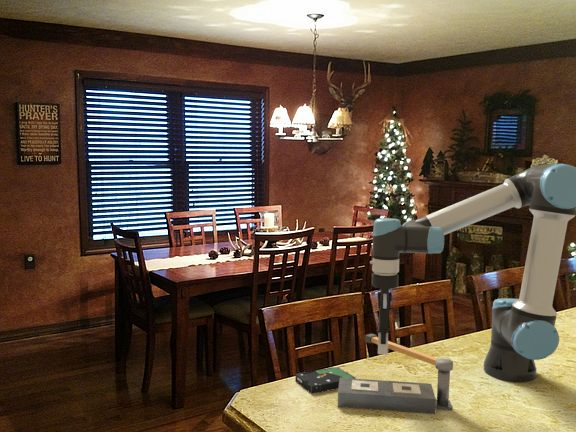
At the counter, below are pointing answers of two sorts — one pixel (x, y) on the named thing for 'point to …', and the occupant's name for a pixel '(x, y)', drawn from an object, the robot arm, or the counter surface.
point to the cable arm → (414, 354)
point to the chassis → (386, 395)
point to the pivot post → (443, 391)
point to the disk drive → (321, 379)
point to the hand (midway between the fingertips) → (382, 353)
